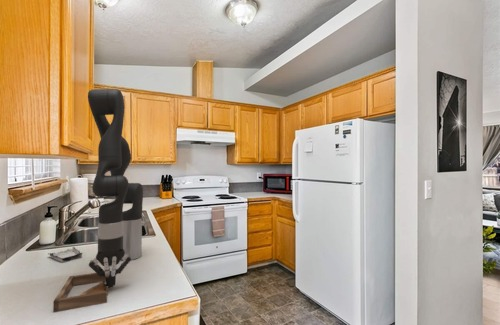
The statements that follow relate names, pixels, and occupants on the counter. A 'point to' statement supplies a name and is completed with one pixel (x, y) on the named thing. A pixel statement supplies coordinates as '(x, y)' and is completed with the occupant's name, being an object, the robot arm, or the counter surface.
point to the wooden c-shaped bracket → (81, 300)
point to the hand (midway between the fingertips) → (110, 286)
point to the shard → (96, 288)
